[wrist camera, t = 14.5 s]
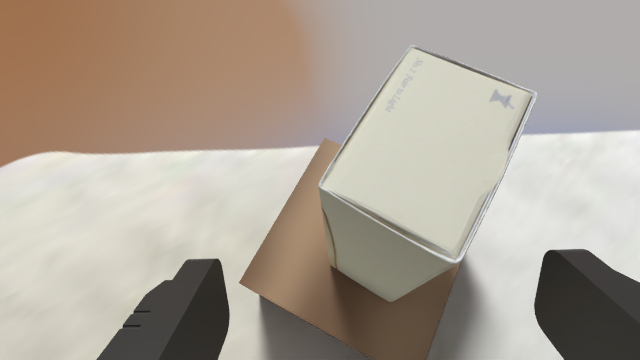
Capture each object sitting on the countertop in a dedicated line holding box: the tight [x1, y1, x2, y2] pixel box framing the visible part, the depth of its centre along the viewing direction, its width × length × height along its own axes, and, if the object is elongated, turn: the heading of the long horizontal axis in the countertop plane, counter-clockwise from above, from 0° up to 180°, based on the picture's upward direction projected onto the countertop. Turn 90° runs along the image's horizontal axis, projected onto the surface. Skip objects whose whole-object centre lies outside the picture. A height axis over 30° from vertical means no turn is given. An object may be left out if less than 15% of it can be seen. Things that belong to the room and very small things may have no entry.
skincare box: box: [318, 45, 538, 302], centre depth 16 cm, size 6×4×12 cm
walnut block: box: [239, 138, 461, 360], centre depth 24 cm, size 11×11×6 cm
